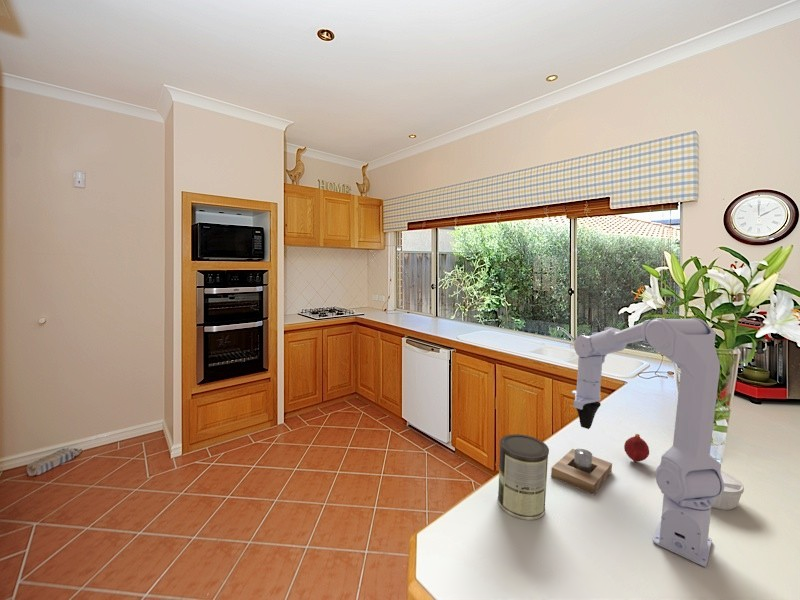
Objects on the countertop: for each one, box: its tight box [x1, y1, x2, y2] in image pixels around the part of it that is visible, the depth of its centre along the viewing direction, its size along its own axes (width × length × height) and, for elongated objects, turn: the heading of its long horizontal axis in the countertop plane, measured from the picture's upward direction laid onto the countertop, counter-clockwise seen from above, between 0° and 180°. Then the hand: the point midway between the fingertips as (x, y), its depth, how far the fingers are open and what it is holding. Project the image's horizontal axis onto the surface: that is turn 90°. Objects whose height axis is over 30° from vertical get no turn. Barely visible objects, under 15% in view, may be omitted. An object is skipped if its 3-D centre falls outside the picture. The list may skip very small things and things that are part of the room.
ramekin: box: [711, 470, 745, 511], centre depth 83 cm, size 11×11×5 cm
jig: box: [550, 448, 613, 496], centre depth 92 cm, size 14×10×2 cm
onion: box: [623, 433, 650, 463], centre depth 98 cm, size 6×6×8 cm
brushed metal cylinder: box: [574, 448, 593, 474], centre depth 91 cm, size 4×4×6 cm
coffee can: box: [497, 433, 550, 521], centre depth 79 cm, size 10×10×14 cm
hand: (585, 427), depth 97 cm, fingers closed
